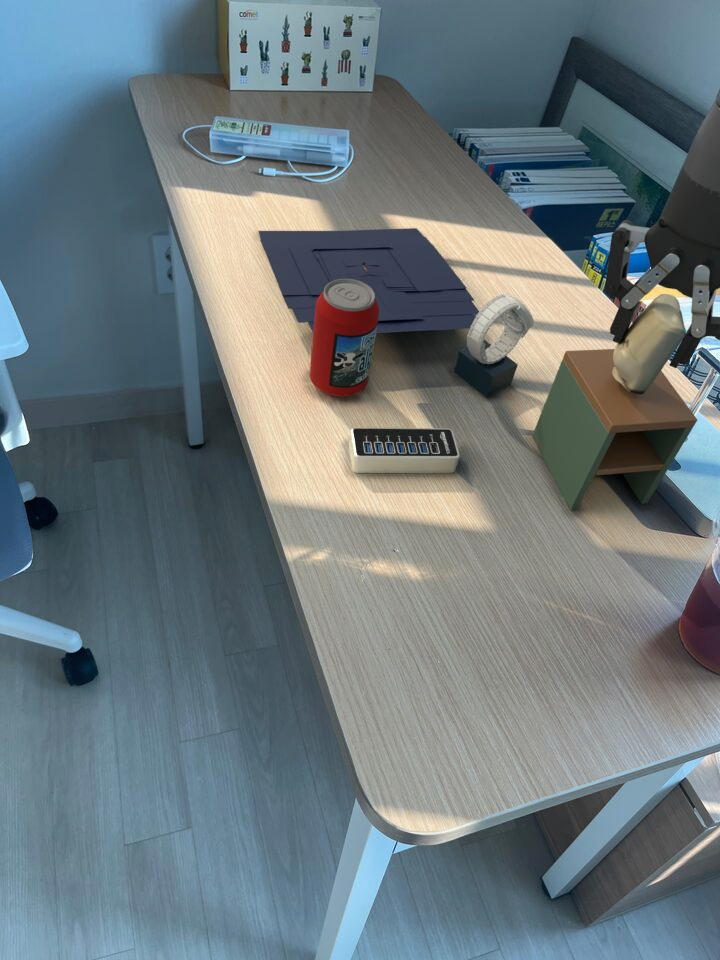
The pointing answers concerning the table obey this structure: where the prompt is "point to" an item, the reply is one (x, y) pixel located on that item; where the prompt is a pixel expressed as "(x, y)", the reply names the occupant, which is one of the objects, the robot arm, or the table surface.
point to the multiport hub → (403, 450)
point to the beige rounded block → (649, 344)
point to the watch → (493, 345)
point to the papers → (371, 275)
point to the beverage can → (343, 337)
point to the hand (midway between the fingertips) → (647, 350)
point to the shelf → (608, 427)
